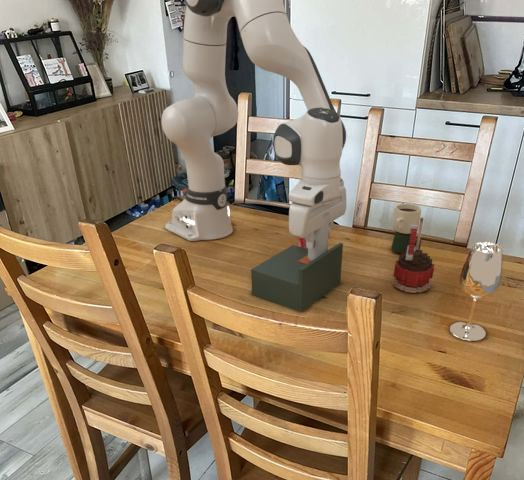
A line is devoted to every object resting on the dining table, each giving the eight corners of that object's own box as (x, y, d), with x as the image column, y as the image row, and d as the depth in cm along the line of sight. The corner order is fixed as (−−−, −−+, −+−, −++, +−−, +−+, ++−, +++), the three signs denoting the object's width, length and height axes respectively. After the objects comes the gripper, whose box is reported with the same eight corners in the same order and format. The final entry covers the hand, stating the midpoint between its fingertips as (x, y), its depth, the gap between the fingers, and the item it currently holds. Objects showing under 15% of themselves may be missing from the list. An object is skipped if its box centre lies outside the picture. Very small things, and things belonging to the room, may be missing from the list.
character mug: (400, 242, 156) (406, 199, 148) (422, 248, 152) (429, 205, 144) (381, 254, 149) (386, 210, 142) (403, 261, 145) (409, 216, 138)
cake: (429, 298, 128) (442, 227, 118) (390, 293, 130) (399, 224, 120) (431, 278, 136) (443, 211, 126) (394, 274, 138) (403, 208, 128)
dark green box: (251, 294, 131) (250, 254, 125) (292, 268, 143) (293, 230, 137) (301, 312, 124) (302, 270, 117) (340, 283, 135) (343, 243, 129)
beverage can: (326, 264, 128) (328, 216, 121) (306, 262, 129) (308, 215, 122) (328, 255, 132) (330, 209, 125) (309, 254, 133) (310, 208, 126)
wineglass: (465, 345, 111) (486, 258, 100) (441, 327, 117) (458, 243, 105) (494, 336, 113) (517, 250, 102) (468, 319, 119) (488, 236, 108)
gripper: (332, 173, 128) (329, 226, 136) (284, 195, 115) (283, 253, 123) (354, 177, 125) (350, 232, 133) (308, 201, 112) (306, 260, 120)
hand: (318, 242), depth 128 cm, fingers open, 5 cm apart
